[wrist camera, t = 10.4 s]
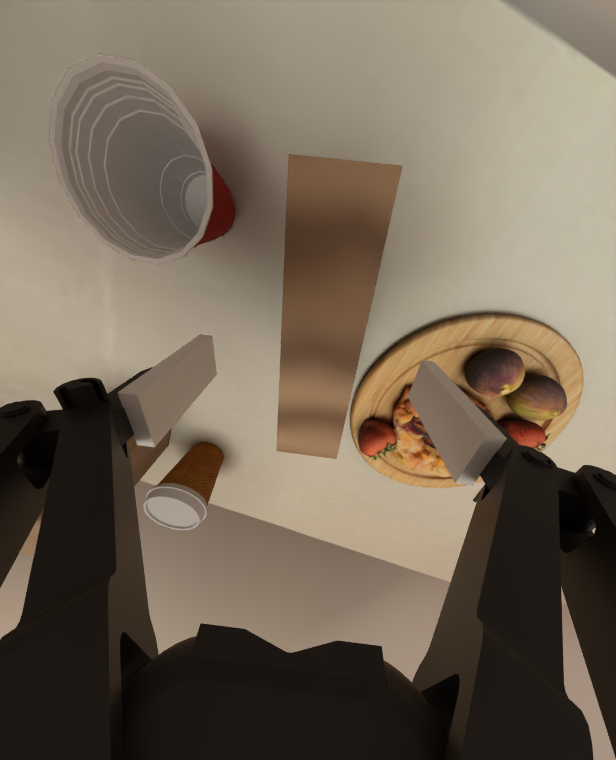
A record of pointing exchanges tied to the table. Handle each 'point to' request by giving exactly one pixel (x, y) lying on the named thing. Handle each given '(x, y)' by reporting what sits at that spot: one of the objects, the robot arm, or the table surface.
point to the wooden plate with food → (467, 391)
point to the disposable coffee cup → (185, 489)
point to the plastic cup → (135, 161)
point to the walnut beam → (328, 292)
